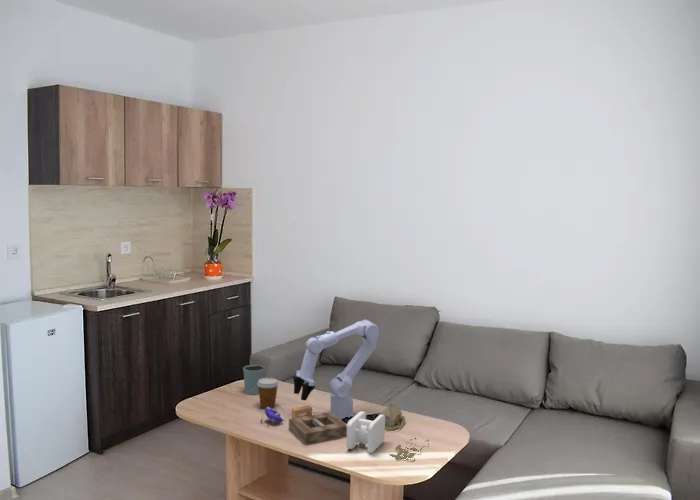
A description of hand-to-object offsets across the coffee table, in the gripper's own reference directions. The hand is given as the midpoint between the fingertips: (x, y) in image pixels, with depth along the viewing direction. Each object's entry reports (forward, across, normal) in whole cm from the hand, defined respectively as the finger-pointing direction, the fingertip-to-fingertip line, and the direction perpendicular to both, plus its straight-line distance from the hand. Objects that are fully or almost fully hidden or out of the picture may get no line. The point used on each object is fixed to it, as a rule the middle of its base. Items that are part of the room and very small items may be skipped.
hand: (299, 396), depth 260 cm
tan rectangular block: (+10, 0, +4) cm, 10 cm away
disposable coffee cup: (+13, -20, -4) cm, 24 cm away
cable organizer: (+6, +35, +14) cm, 38 cm away
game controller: (+14, -2, -9) cm, 16 cm away
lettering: (+2, +44, +29) cm, 53 cm away
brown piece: (+9, +16, +4) cm, 19 cm away
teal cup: (+13, -41, -2) cm, 43 cm away
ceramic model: (+1, +22, +34) cm, 40 cm away
